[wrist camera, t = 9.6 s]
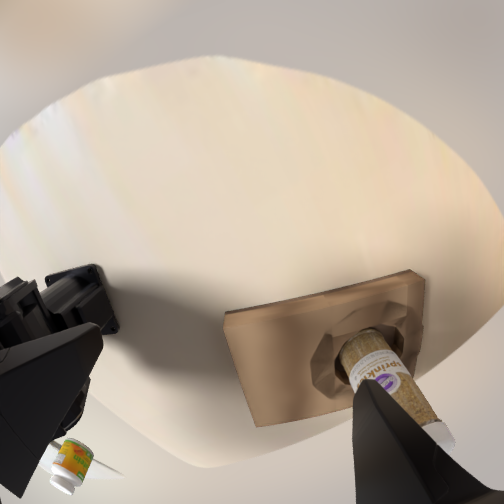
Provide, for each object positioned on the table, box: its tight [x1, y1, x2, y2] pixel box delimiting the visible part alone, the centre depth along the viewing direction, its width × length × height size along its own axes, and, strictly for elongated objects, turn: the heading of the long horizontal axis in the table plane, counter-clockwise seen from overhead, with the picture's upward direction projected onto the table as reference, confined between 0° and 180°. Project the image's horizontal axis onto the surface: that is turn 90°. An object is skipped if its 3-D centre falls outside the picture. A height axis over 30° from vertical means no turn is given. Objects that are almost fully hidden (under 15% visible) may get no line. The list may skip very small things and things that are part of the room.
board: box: [223, 269, 425, 427], centre depth 22 cm, size 16×12×2 cm
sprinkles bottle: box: [339, 328, 455, 455], centre depth 16 cm, size 5×5×13 cm
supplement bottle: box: [50, 438, 94, 495], centre depth 24 cm, size 5×5×10 cm
